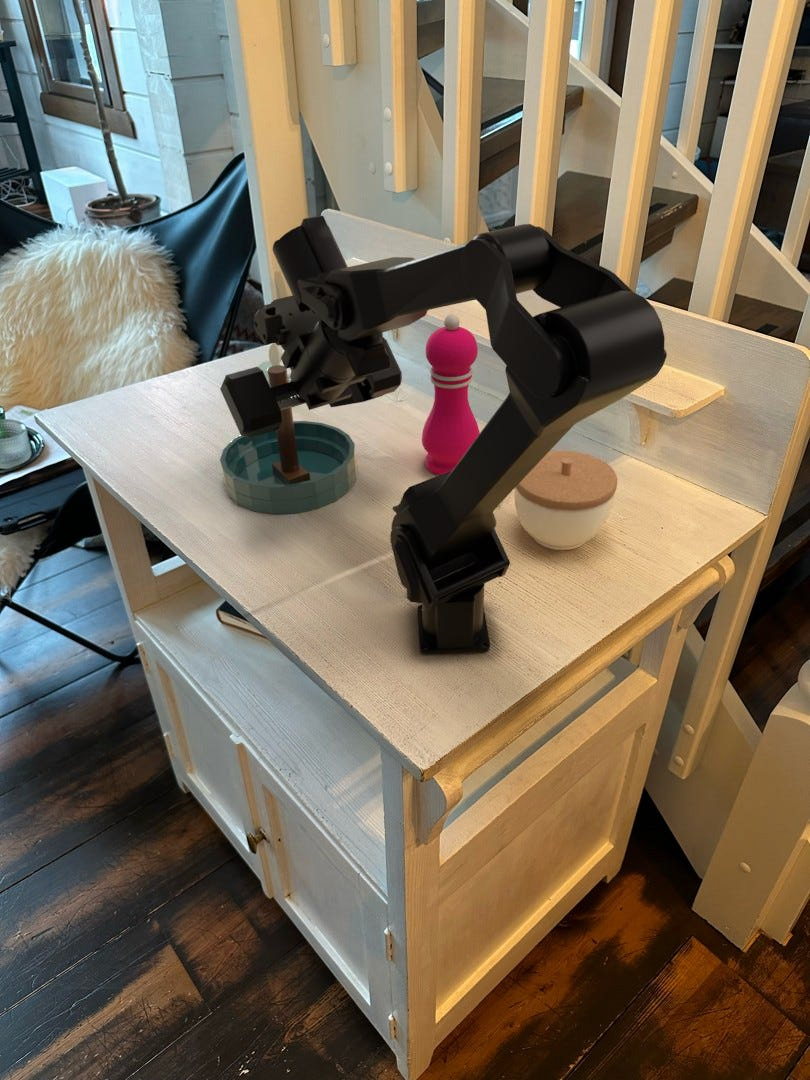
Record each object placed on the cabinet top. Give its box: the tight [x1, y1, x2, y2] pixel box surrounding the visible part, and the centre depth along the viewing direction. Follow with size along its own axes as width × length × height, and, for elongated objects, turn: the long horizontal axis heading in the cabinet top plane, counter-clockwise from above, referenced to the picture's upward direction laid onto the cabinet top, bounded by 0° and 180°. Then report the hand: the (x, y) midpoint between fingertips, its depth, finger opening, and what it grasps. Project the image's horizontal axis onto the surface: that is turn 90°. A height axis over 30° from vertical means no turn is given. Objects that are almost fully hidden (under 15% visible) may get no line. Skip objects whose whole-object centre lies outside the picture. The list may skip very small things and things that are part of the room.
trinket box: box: [513, 449, 618, 551], centre depth 82 cm, size 11×11×9 cm
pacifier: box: [257, 343, 291, 383], centre depth 117 cm, size 7×6×6 cm
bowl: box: [219, 420, 358, 515], centre depth 94 cm, size 16×16×4 cm
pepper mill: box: [421, 313, 481, 476], centre depth 91 cm, size 7×7×20 cm
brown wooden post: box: [267, 364, 310, 484], centre depth 90 cm, size 5×3×14 cm, turn 34°
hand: (295, 414), depth 86 cm, fingers open, 9 cm apart
